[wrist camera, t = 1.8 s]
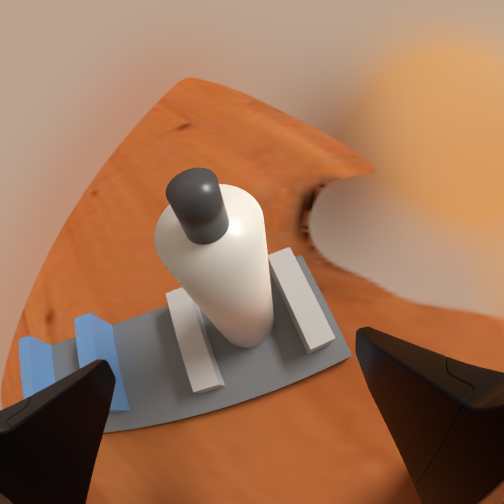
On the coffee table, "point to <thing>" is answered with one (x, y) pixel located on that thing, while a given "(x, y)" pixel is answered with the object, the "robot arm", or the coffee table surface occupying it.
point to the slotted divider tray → (194, 353)
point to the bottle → (218, 254)
